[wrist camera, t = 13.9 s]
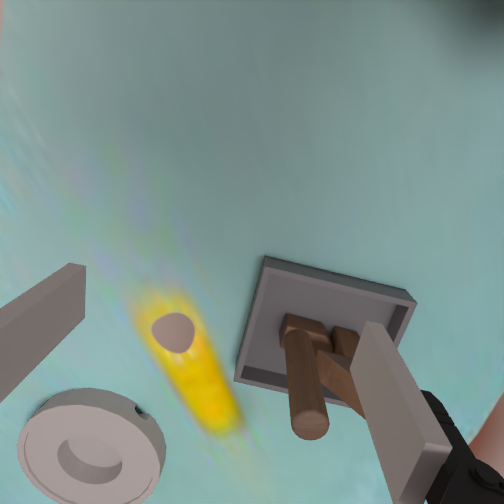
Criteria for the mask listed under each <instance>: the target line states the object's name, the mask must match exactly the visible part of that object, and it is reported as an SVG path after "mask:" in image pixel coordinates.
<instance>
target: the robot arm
mask: <svg viewBox="0 0 504 504" xmlns="http://www.w3.org/2000/svg"><path fill="white" fill-rule="evenodd" d="M85 289H86V266H84V265H79V264H74V263H68V264H67V265H65V266H64V267H62V268H61V269H59V270H58V271H56V272H55V273H53V274H52V275H50V276H49V277H47V278H46V279H44V280H43V281H41V282H40V283H38V284H37V285H35V286H34V287H32V288H31V289H29V290H28V291H26V292H25V293H23V294H22V295H20V296H19V297H17V298H16V299H14V300H12V301H11V302H9V303H8V304H6V305H5V306H3V307H2V308H0V403H1V402H2V401H3V400H4V399H5V398H6V397H7V396H8V395H9V394H10V393H11V392H12V391H13V390H14V389H15V388H16V387H17V386H18V384H19V383H20V382H21V381H22V380H23V379H24V378H25V377H26V376H27V375H28V374H29V373H30V372H31V371H32V370H33V369H34V368H35V367H36V366H37V365H38V364H39V363H40V362H41V361H42V360H43V359H44V358H45V357H46V356H47V355H48V354H49V353H50V352H51V351H52V350H53V349H54V348H55V347H56V346H57V345H58V344H59V343H60V342H61V341H62V340H63V339H64V338H65V337H66V336H67V335H68V334H69V333H70V332H71V331H72V330H73V329H74V328H75V327H76V326H77V325H78V324H79V323H80V322H81V321H82V320H83V319H84V318H85ZM350 372H351V375H352V378H353V381H354V384H355V387H356V390H357V393H358V396H359V400H360V403H361V406H362V409H363V412H364V415H365V418H366V421H367V424H368V427H369V430H370V434H371V437H372V440H373V443H374V446H375V449H376V452H377V455H378V458H379V461H380V464H381V467H382V471H383V474H384V477H385V480H386V483H387V486H388V489H389V492H390V495H391V498H392V501H393V504H424V502H425V500H427V503H428V504H504V479H503V477H502V476H501V475H500V474H499V473H498V472H497V471H496V470H494V469H493V468H492V467H490V466H489V465H488V464H486V463H484V462H482V461H480V460H478V459H476V458H475V456H474V455H473V453H472V451H471V450H470V448H469V447H468V445H467V443H466V442H465V440H464V438H463V437H462V435H461V434H460V432H459V430H458V429H457V427H456V426H454V422H453V421H452V419H451V417H449V416H448V415H449V414H448V413H447V411H446V409H445V408H444V406H443V404H442V403H441V402H440V401H439V400H438V399H437V398H436V397H435V396H434V395H433V394H432V393H431V392H429V391H424V390H420V389H419V387H418V385H417V384H416V382H415V380H414V378H413V377H412V375H411V373H410V371H409V370H408V368H407V366H406V364H405V363H404V361H403V359H402V357H401V356H400V354H399V352H398V350H397V348H396V347H395V345H394V343H393V341H392V340H391V338H390V336H389V334H388V333H387V331H386V329H385V327H384V326H383V324H381V323H376V322H371V321H366V323H365V326H364V329H363V332H362V334H361V337H360V340H359V343H358V346H357V349H356V352H355V355H354V357H353V360H352V363H351V366H350Z"/></svg>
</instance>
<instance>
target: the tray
mask: <svg viewBox="0 0 504 504" xmlns="http://www.w3.org/2000/svg"><path fill="white" fill-rule="evenodd" d="M416 305H417V302H416V301H415V300H414V299H413V298H412V296H411V295H410V294H409V293H408V292H407V291H406V290H404V289H400V288H396V287H392V286H388V285H384V284H380V283H376V282H371V281H367V280H363V279H359V278H355V277H351V276H347V275H343V274H338V273H334V272H330V271H326V270H322V269H318V268H314V267H310V266H306V265H301V264H297V263H293V262H289V261H285V260H281V259H277V258H273V257H269V256H265V258H264V262H263V266H262V269H261V273H260V277H259V280H258V284H257V288H256V291H255V295H254V299H253V302H252V306H251V310H250V313H249V317H248V321H247V324H246V328H245V332H244V335H243V339H242V343H241V346H240V350H239V354H238V357H237V361H236V366H235V374H234V382H239V383H243V384H248V385H252V386H257V387H261V388H265V389H270V390H274V391H279V392H283V393H287V394H288V383H287V371H286V359H285V349H283V348H281V347H280V342H279V332H280V329H281V326H282V323H283V320H284V317H285V315H286V314H290V315H294V316H297V317H301V318H305V319H309V320H313V321H316V322H320V323H322V324H323V325H324V327H325V328H326V330H327V332H328V334H329V335H330V337H331V334H332V332H333V329H334V327H340V328H344V329H348V330H351V331H355V332H357V333H358V334H359V336H360V337H361V334H362V332H363V329H364V326H365V323H366V321H371V322H376V323H381V324H383V326H384V327H385V329H386V331H387V333H388V334H389V336H390V338H391V340H392V341H393V343H394V345H395V347H396V348H398V346H399V343H400V341H401V339H402V337H403V334H404V332H405V330H406V328H407V325H408V323H409V321H410V319H411V316H412V314H413V312H414V310H415V308H416ZM321 387H322V391H323V396H324V400H325V402H327V403H331V404H336V405H340V406H345V407H349V408H351V407H350V406H349V405H347V404H346V403H345V402H344V401H342V400H341V399H340V398H339V397H338V396H336V395H335V394H334V393H333V392H332V391H330V390H329V389H328V388H327V387H326V386H324V385H323V384H322V383H321Z"/></svg>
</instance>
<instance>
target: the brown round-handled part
mask: <svg viewBox="0 0 504 504" xmlns="http://www.w3.org/2000/svg"><path fill="white" fill-rule="evenodd" d="M359 340H360V336H359V334H358V333H357V332H355V331H351V330H348V329H344V328H340V327H334V329H333V332H332V334H331V337H330V335H329V334H328V332H327V330H326V328H325V327H324V325H323V324H322V323H320V322H316V321H313V320H309V319H305V318H301V317H297V316H294V315H290V314H286V315H285V317H284V320H283V323H282V326H281V329H280V332H279V342H280V347H281V348H283V349H285V359H286V371H287V383H288V394H289V406H290V417H291V426H292V430H293V431H294V433H295V434H296V435H297V436H298V437H300V438H302V439H304V440H316V439H319V438H321V437H323V436H324V435H325V434H326V433H327V431H328V428H329V419H328V414H327V409H326V405H325V400H324V396H323V391H322V387H321V383H322V384H323V385H324V386H326V387H327V388H328V389H329V390H330V391H332V392H333V393H334V394H335V395H336V396H338V397H339V398H340V399H341V400H342V401H344V402H345V403H346V404H347V405H349V406H350V407H351V408H352V409H353V410H355V411H356V412H357V413H358V414H359V415H361V416H362V417H363V418H364V419H365V420H366V418H365V415H364V412H363V409H362V406H361V403H360V400H359V396H358V393H357V390H356V387H355V384H354V381H353V378H352V375H351V372H350V366H351V363H352V360H353V357H354V355H355V352H356V349H357V346H358V343H359Z"/></svg>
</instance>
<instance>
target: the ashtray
mask: <svg viewBox="0 0 504 504" xmlns="http://www.w3.org/2000/svg"><path fill="white" fill-rule="evenodd" d="M136 405H137V403H135V402H133V401H132V400H130V399H129V398H127V397H124V396H122V395H119V394H116V393H114V392H111V391H107V390H101V389H94V388H81V389H71V390H68V391H65V392H61V393H58V394H56V395H54V396H53V397H51V398H50V399H48V400H47V402H46V403H45V404H44V405H43V406H42V407H41V408H39V409H38V410H37V411H36V413H35V414H34V415H33V416H32V417H31V419H30V420H29V421H28V422H27V424H26V425H25V426H24V428H23V429H22V430H21V432H20V435H19V439H18V442H17V454H18V460H19V463H20V465H21V467H22V470H23V472H24V474H25V475H26V476H27V478H28V479H29V480H30V482H31V483H32V484H33V485H34V486H35V487H36V488H37V489H38V490H40V491H41V492H42V493H43V494H44V495H46V496H47V497H49V498H50V499H52V500H54V501H56V502H58V503H59V504H140V503H142V502H143V501H144V500H146V499H147V498H148V497H149V496H150V495H151V494H152V493H153V491H154V489H155V487H156V485H157V483H158V481H159V478H160V475H161V472H162V468H163V465H164V462H165V455H166V444H165V440H164V435H163V433H162V431H161V429H160V427H159V426H158V424H157V422H156V420H155V419H154V418H153V417H152V416H151V415H150V414H137V412H136V411H135V406H136Z"/></svg>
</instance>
